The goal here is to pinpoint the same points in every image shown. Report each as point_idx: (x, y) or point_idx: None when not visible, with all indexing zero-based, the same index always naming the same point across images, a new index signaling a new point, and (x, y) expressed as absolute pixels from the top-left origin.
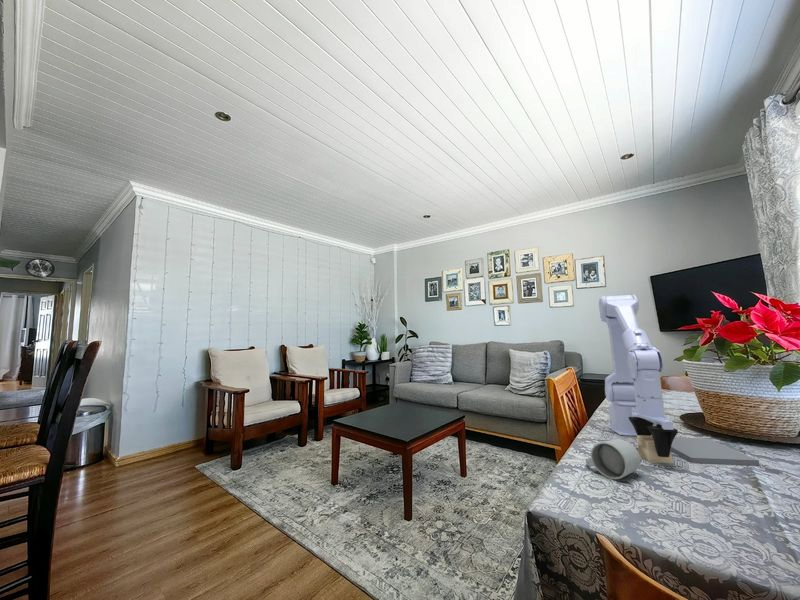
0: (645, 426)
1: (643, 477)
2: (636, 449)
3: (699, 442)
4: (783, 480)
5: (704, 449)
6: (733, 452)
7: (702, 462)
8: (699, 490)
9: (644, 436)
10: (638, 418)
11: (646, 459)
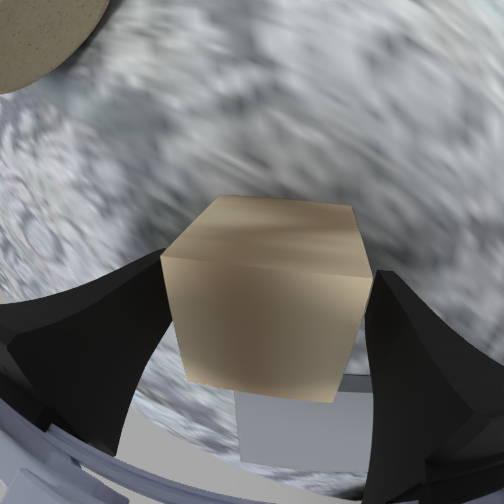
0: (393, 424)
1: (48, 85)
2: None
3: None
4: (162, 423)
5: (325, 442)
6: (294, 463)
7: None
8: (21, 219)
9: (328, 324)
10: (433, 476)
11: (254, 198)
